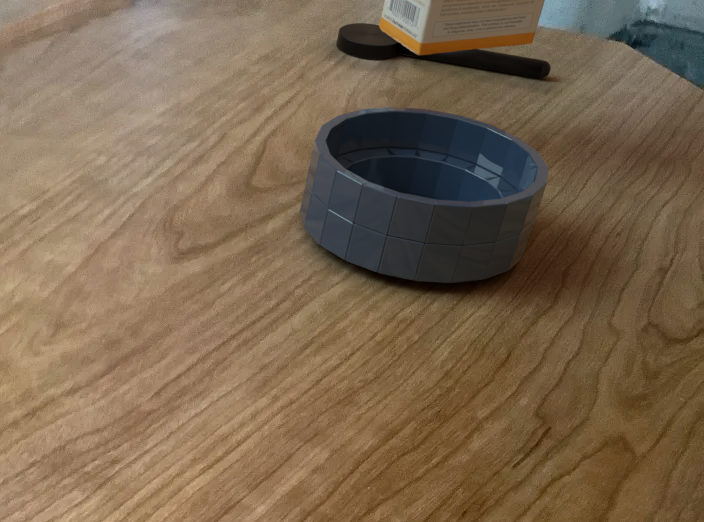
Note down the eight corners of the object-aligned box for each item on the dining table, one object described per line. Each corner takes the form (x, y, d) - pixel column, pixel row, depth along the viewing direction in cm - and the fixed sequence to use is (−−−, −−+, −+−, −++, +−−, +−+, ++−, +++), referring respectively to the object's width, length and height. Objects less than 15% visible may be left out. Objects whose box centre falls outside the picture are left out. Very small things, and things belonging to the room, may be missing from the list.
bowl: (404, 172, 85) (424, 92, 81) (566, 258, 77) (596, 174, 74) (253, 216, 79) (269, 132, 76) (413, 314, 72) (437, 226, 68)
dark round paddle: (549, 68, 99) (554, 51, 98) (545, 90, 96) (551, 73, 95) (341, 32, 102) (345, 16, 102) (331, 52, 99) (334, 36, 98)
